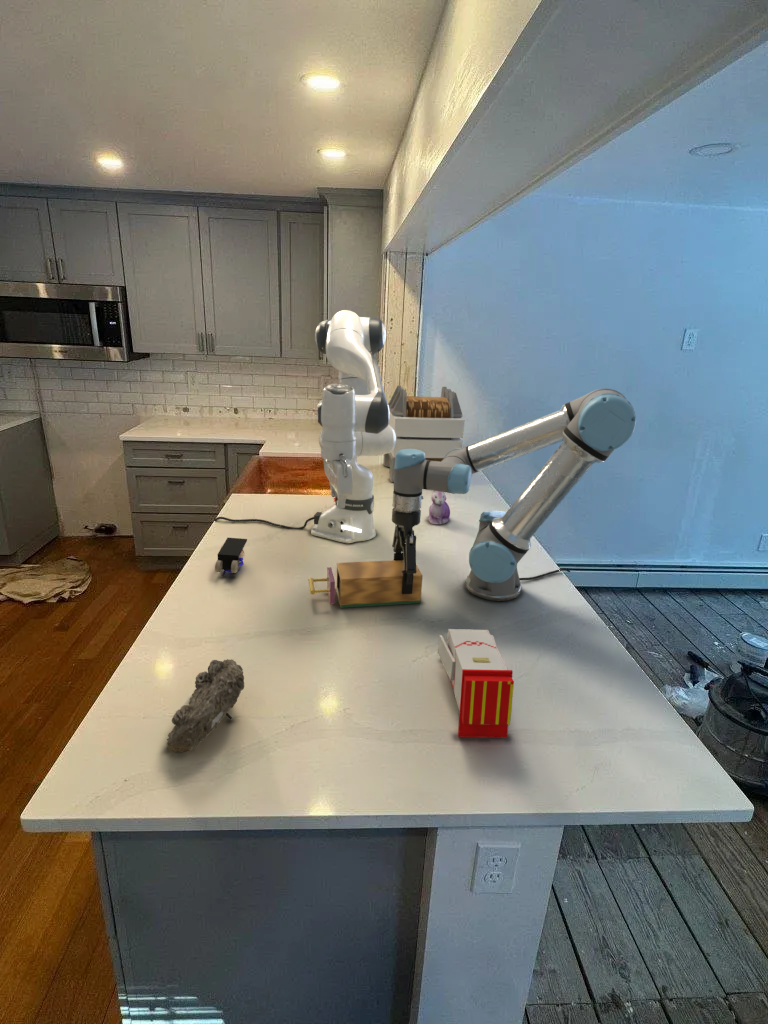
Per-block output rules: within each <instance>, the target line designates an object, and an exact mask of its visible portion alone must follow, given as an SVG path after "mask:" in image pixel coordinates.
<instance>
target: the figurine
mask: <svg viewBox="0 0 768 1024" xmlns="http://www.w3.org/2000/svg"><path fill="white" fill-rule="evenodd" d="M445 493H446V492H440V491H432V494H431V498H430V499H431V502H432V503H431V505H429V507H428V517H427V518H428V519H427V520H428V521H429V523H430V524H433V525H442V524H447V523H448V522H449V520H450V516H451V509H450V506H449V504H448V503H447V496H446V494H445Z"/></svg>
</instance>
